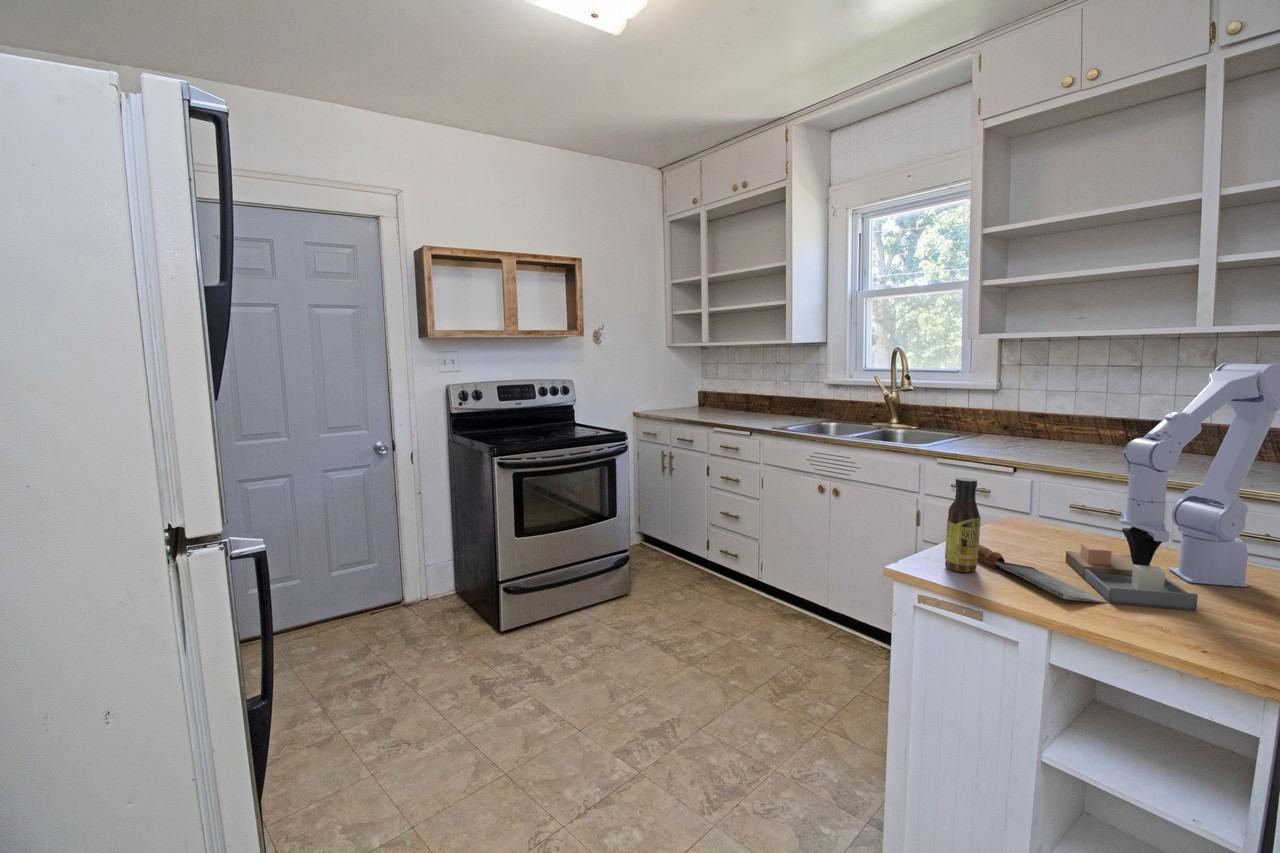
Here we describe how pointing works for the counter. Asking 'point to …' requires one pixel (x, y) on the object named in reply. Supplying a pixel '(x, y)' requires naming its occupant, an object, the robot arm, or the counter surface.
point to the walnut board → (1118, 564)
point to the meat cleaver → (1036, 577)
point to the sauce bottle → (963, 528)
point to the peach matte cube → (1095, 554)
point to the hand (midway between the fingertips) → (1140, 565)
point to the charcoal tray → (1140, 592)
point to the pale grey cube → (1148, 577)
